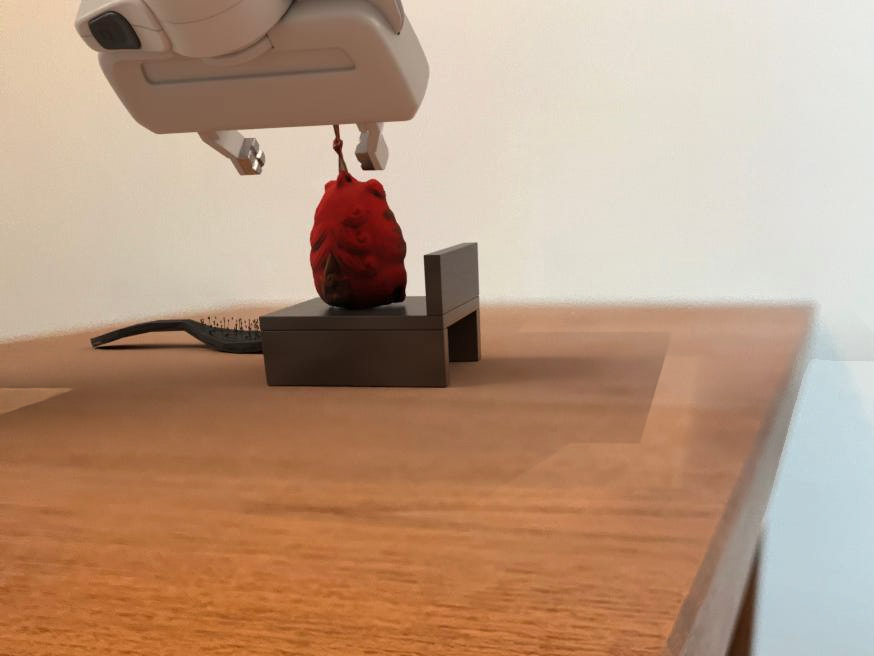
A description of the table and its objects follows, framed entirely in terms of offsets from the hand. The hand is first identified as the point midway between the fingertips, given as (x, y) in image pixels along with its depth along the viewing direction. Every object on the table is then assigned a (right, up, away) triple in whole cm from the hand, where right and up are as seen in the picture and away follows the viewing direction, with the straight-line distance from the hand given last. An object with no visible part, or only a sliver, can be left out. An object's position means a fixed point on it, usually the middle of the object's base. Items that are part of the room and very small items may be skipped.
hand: (314, 165), depth 68 cm
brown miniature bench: (+3, -11, +11) cm, 16 cm away
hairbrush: (-14, -5, +26) cm, 29 cm away
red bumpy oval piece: (+2, -7, +9) cm, 11 cm away
